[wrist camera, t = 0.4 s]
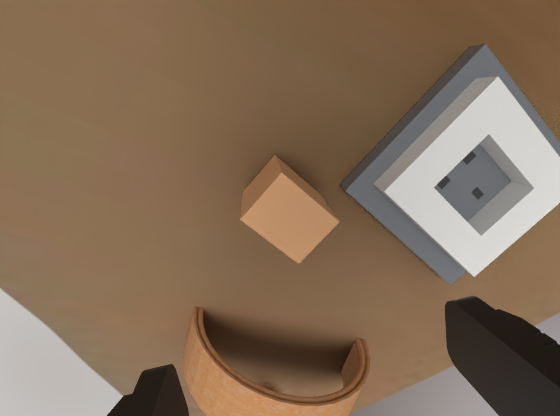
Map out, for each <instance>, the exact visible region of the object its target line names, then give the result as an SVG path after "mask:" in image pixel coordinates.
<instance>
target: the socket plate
mask: <svg viewBox="0 0 560 416" xmlns="http://www.w3.org/2000/svg"><path fill="white" fill-rule="evenodd" d="M340 186H341V187H342V188H343V189H344V190H345V191H346V192H347V193H348V194H350V195H351V196H352V197H353V198H354V199H355V200H356V201H357V202H358V203H360V204H361V205H362V206H363V207H364V208H365V209H366V210H367V211H368V212H370V213H371V214H372V215H373V216H374V217H375V218H376V219H377V220H378V221H380V222H381V223H382V224H383V225H384V226H385V227H386V228H387V229H388V230H390V231H391V232H392V233H393V234H394V235H395V236H396V237H397V238H398V239H400V240H401V241H402V242H403V243H404V244H405V245H406V246H407V247H408V248H410V249H411V250H412V251H413V252H414V253H415V254H416V255H417V256H418V257H420V258H421V259H422V260H423V261H424V262H425V263H426V264H427V265H428V266H430V267H431V268H432V269H433V270H434V271H435V272H436V273H437V274H438V275H440V276H441V277H442V278H443V279H444V280H445V281H446V282H447V283H448V284H450V285H452V284H453V283H454V282H455V281H456V280H457V279H459V278H460V277H461V276H462V275H463V274H464V273H465V272H469V273H470V274H471V275H472V276H474V277H475V276H476V275H477V274H478V273H479V272H480V271H482V270H483V269H484V268H485V267H486V266H487V265H488V264H490V263H491V262H492V261H493V260H494V259H495V258H497V257H498V256H499V255H500V254H501V253H502V252H503V251H505V250H506V249H507V248H508V247H509V246H510V245H511V244H513V243H514V242H515V241H516V240H517V239H518V238H520V237H521V236H522V235H523V234H524V233H525V232H526V231H528V230H529V229H530V228H531V227H532V226H533V225H535V224H536V223H537V222H538V221H539V220H540V219H541V218H543V217H544V216H545V215H546V214H547V213H548V212H549V211H551V210H552V209H553V208H554V207H555V206H556V205H558V204H559V203H560V142H559V141H558V140H557V138H556V137H555V136H554V134H553V133H552V132H551V130H550V129H549V128H548V126H547V125H546V124H545V122H544V121H543V120H542V118H541V117H540V116H539V114H538V113H537V112H536V110H535V109H534V108H533V106H532V105H531V104H530V102H529V101H528V100H527V98H526V97H525V96H524V94H523V93H522V92H521V90H520V89H519V88H518V86H517V85H516V84H515V82H514V81H513V80H512V78H511V77H510V76H509V74H508V73H507V71H506V70H505V69H504V67H503V66H502V65H501V63H500V62H499V61H498V59H497V58H496V57H495V55H494V54H493V53H492V51H491V50H490V49H489V47H488V46H487V45H486V44H482V45H478V46H473V47H469V48H468V49H467V50H466V51H465V52H464V54H463V55H462V56H461V57H460V58H459V59H458V60H457V61H456V62H455V63H454V64H453V65H452V66H451V67H450V68H449V69H448V71H447V72H446V73H445V74H444V75H443V76H442V77H441V78H440V79H439V80H438V81H437V82H436V83H435V84H434V85H433V86H432V87H431V89H430V90H429V91H428V92H427V93H426V94H425V95H424V96H423V97H422V98H421V99H420V100H419V101H418V102H417V103H416V104H415V105H414V107H413V108H412V109H411V110H410V111H409V112H408V113H407V114H406V115H405V116H404V117H403V118H402V119H401V120H400V121H399V122H398V123H397V125H396V126H395V127H394V128H393V129H392V130H391V131H390V132H389V133H388V134H387V135H386V136H385V137H384V138H383V139H382V140H381V141H380V143H379V144H378V145H377V146H376V147H375V148H374V149H373V150H372V151H371V152H370V153H369V154H368V155H367V156H366V157H365V158H364V159H363V161H362V162H361V163H360V164H359V165H358V166H357V167H356V168H355V169H354V170H353V171H352V172H351V173H350V174H349V175H348V176H347V177H346V179H345V180H344V181H343V182H342V183H341V184H340Z"/></svg>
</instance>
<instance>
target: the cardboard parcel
mask: <svg viewBox="0 0 560 416" xmlns="http://www.w3.org/2000/svg"><path fill="white" fill-rule="evenodd" d="M240 220H241V221H243V222H244V223H245V224H247V225H248V226H249V227H251V228H252V229H253V230H255V231H256V232H257V233H259V234H260V235H261V236H263V237H264V238H265V239H267V240H268V241H269V242H270V243H272V244H273V245H274V246H276V247H277V248H278V249H280V250H281V251H282V252H284V253H285V254H286V255H288V256H289V257H290V258H292V259H293V260H294V261H296V262H297V263H298V264H299V263H300V262H301V261H302V260H303V259H304V258H305V257H306V256H307V255H308V254H309V253H310V252H311V251H312V250H313V249H314V248H315V247H316V246H317V245H318V244H319V243H320V242H321V240H322V239H323V238H324V237H325V236H326V235H327V234H328V233H329V232H330V231H331V230H332V229H333V228H334V227H335V226H336V225H337V224H338V223H339V220H338V219H337V217H336V216H335V215H334V213H333V212H332V210H331V209H330V207H329V206H328V205H327V203H326V202H325V200H324V199H323V197H322V196H321V195H320V193H318V192H317V191H316V190H315V189H314V188H313V187H311V186H310V185H309V184H308V183H307V182H306V181H305V180H303V179H302V178H301V177H300V176H299V175H298V174H296V173H295V172H294V171H293V170H292V169H291V168H290V167H288V166H287V165H286V164H285V163H284V162H283V161H281V160H280V159H279V158H278V157H277V156H276V155H274V156H273V158H272V159H271V160H270V161H269V162H268V163H267V164H266V166H265V167H264V168H263V169H262V170H261V171H260V173H259V174H258V175H257V176H256V177H255V178H254V179H253V181H252V182H251V183H250V184H249V185H248V186H247V188H246V189H245V190H244V191H243V198H242V207H241V217H240Z"/></svg>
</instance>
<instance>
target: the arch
mask: <svg viewBox="0 0 560 416" xmlns="http://www.w3.org/2000/svg"><path fill="white" fill-rule="evenodd" d="M203 312H204V309H203V308H200V309H199V310H198V308H197V307H195V309H194V312H193V316H192V320H191V324H190V328H189V332H188V336H187V340H186V344H185V348H184V352H183V369H184V375H185V379H186V382H187V385H188V387H189V390H190V393H191V394H192V396H193V397H194V399H195V401H196V402H197V404H198V406H199V407H200V408H201V409H202V411H203V412H204V413H205V414H206V415H207V416H348V415H349V413H350V411H351V409H352V407H353V405H354V403H355V401H356V399H357V397H358V395H359V393H360V391H361V389H362V387H363V385H364V383H365V381H366V378H367V375H368V373H369V367H370V357H369V350H368V347H367V344H366V342H365V339H362V340H361V341H360V339H359V338H358V339H356V343H354V344H353V346H352V348H351V350H350V353H349V355H348V357H347V359H346V361H345V363H344V366H343V368H342V371H341V375H342V379H343V385H344V388H343V389H341V390H340V391H337V392H335V393H332V394H329V395H325V396H318V397H296V396H291V395H286V394H281V393H278V392H275V391H272V390H269V389H266V388H263V387H261V386H259V385H257V384H256V383H254V382H252V381H250V380H248V379H246V378H245V377H243V376H242V375H240V374H239V373H238V372H236V371H235V370H233V369H232V368H231V367H230V366H229V365H228V364H227V363H226V362H225V361H224V360H223V359H222V358H221V357H220V356H219V355H218V353H217V352H216V351H215V349H214V348H213V347H212V345H211V343H210V341H209V339H208V337H207V335H206V332H205V328H204V325H203Z"/></svg>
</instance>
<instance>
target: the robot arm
mask: <svg viewBox="0 0 560 416" xmlns="http://www.w3.org/2000/svg"><path fill="white" fill-rule="evenodd" d="M445 320H446V341H447V350H448V353H449V356H450V358H451V360H452V362H453V364H454V365H455V367H456V368H457V369H458V371H459V372H460V373H461V374H462V375H463V376H464V377H465V378H466V379H467V380H468V382H469V383H470V384H471V385H472V386H473V387H474V388H475V389H476V390H477V391H478V393H479V394H480V395H481V396H482V397H483V398H484V399H485V400H486V402H487V403H488V404H489V405H490V406H491V407H492V408H493V409H494V411H495V412H496V413H497V414H498V415H499V416H560V345H558V344H557V342H556V341H555V340H553V339H552V338H551V337H549V336H548V335H546V334H544V333H543V334H542V333H541V332H540V330H539V329H537V328H536V327H534V326H533V325H531V324H530V323H528V322H527V321H525V320H524V319H522V318H520V317H518V316H515V315H513V314H510V313H507V312H505V311H502V310H500V309H498V310H495V309H493V308H492V307H491V306H489V305H488V304H486V303H485V302H483V301H482V300H481V299H479V298H478V297H475V296H470V297H465V298H461V299H457V300H452V301H448V302H447V303H446V305H445ZM107 416H189V412H188V407H187V404H186V401H185V397H184V394H183V391H182V388H181V385H180V382H179V378H178V375H177V372H176V369H175V367H174V366H173V365H172V364H169V365H165V366H161V367H156V368H152V369H148V370H144V371H143V372H142V373H141V375H140V377H139V380H138V382H137V384H136V387H135V389H134V391H133V394H129V395H125V396H123V397H122V399H121V400H120V401H119V402H118V403H117V404H116V406H115V407H114V408H113V409H112V410H111V412H110V413H109V414H108V415H107Z"/></svg>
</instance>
